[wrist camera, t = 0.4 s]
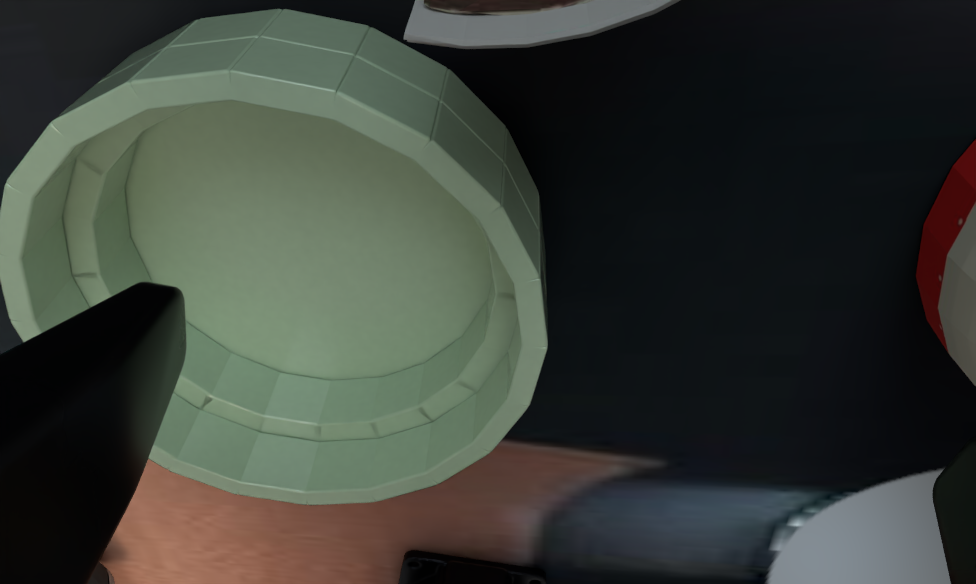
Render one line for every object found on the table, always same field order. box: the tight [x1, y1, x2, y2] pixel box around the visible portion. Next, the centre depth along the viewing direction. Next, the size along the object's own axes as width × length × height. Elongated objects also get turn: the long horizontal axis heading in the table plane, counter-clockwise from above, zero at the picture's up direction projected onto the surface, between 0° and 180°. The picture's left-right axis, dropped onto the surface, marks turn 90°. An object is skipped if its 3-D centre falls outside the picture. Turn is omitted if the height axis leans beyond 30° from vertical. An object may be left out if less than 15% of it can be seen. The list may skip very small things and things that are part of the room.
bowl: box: [0, 9, 548, 505], centre depth 23 cm, size 14×14×5 cm
